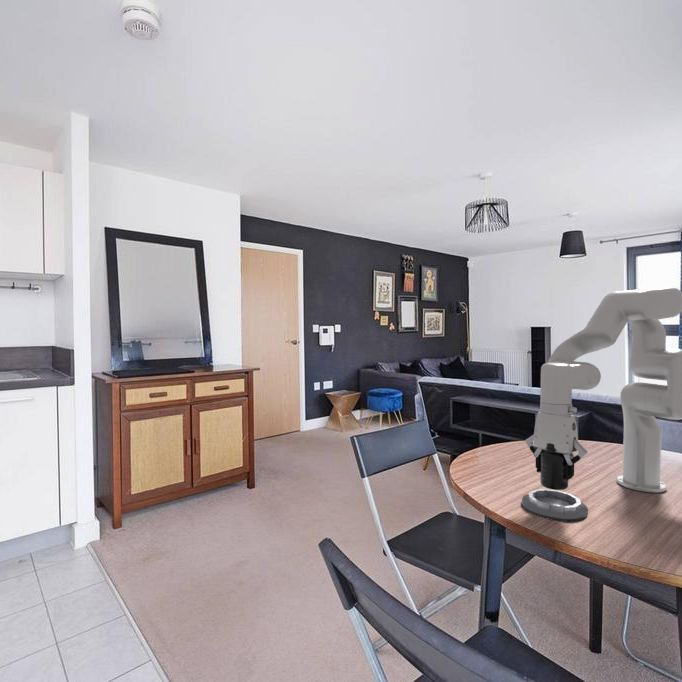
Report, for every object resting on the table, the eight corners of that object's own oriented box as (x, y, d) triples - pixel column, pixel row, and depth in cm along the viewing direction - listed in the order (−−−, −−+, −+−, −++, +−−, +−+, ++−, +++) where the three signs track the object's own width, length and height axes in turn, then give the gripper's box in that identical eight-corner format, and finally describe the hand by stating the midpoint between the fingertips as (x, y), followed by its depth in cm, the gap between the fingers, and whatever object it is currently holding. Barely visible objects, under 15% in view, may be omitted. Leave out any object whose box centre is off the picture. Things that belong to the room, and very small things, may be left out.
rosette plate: (538, 492, 130) (538, 482, 130) (597, 509, 118) (597, 499, 118) (510, 506, 120) (511, 496, 119) (572, 527, 107) (572, 516, 107)
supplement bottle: (559, 481, 122) (560, 438, 121) (573, 490, 115) (574, 445, 115) (535, 481, 122) (536, 438, 121) (547, 490, 115) (548, 445, 114)
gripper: (596, 412, 113) (594, 480, 114) (530, 403, 127) (529, 464, 127) (584, 416, 109) (582, 487, 109) (517, 406, 122) (516, 469, 122)
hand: (554, 474), depth 118 cm, fingers closed on supplement bottle, 6 cm apart
